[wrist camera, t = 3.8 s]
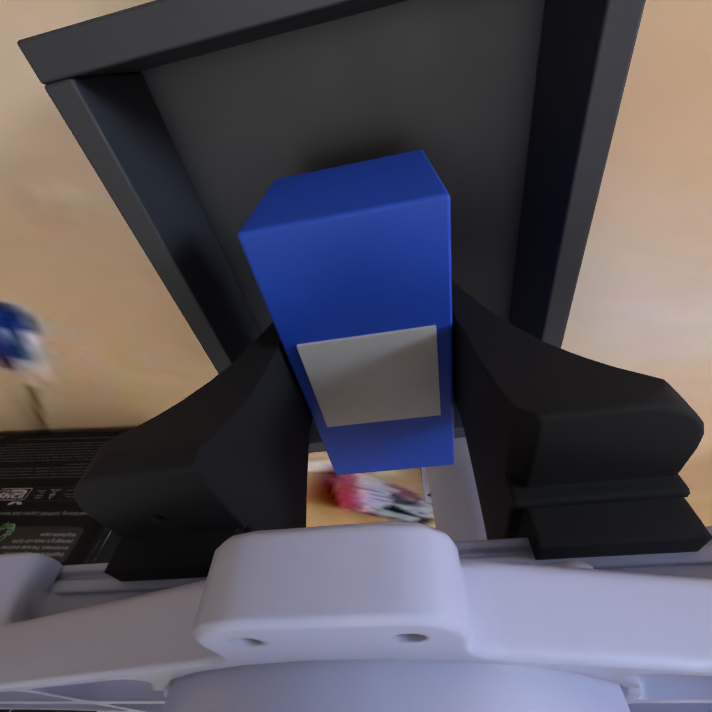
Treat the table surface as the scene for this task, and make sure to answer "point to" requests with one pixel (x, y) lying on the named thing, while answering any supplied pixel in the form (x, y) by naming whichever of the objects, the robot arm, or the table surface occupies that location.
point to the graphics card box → (50, 502)
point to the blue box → (364, 306)
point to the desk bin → (348, 132)
